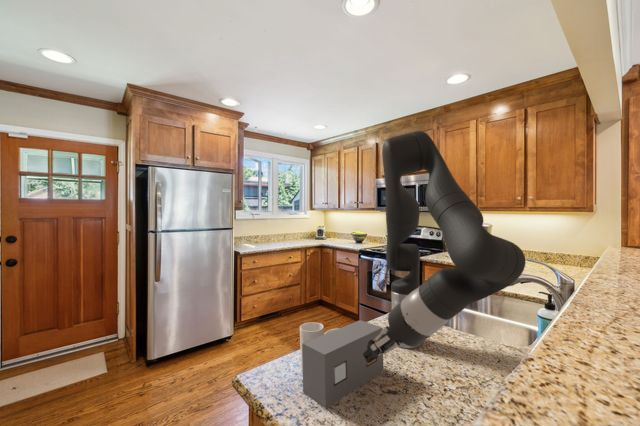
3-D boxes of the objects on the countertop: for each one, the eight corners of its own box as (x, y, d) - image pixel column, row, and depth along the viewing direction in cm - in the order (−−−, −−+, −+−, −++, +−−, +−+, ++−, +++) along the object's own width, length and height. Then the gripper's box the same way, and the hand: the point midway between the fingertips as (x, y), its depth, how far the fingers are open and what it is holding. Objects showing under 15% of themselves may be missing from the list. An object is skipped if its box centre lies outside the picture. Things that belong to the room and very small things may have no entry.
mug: (328, 372, 78) (327, 328, 78) (305, 378, 75) (304, 333, 75) (314, 356, 87) (313, 317, 87) (293, 361, 84) (292, 320, 84)
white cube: (335, 371, 70) (335, 357, 70) (345, 377, 68) (345, 362, 68) (324, 377, 68) (324, 362, 68) (335, 383, 65) (334, 368, 65)
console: (360, 360, 84) (359, 320, 84) (383, 371, 78) (382, 327, 78) (303, 392, 69) (302, 343, 69) (325, 408, 63) (324, 354, 63)
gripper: (422, 290, 58) (375, 332, 67) (385, 305, 49) (336, 351, 58) (449, 323, 54) (395, 363, 63) (414, 346, 45) (357, 388, 54)
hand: (367, 357), depth 61 cm, fingers closed
